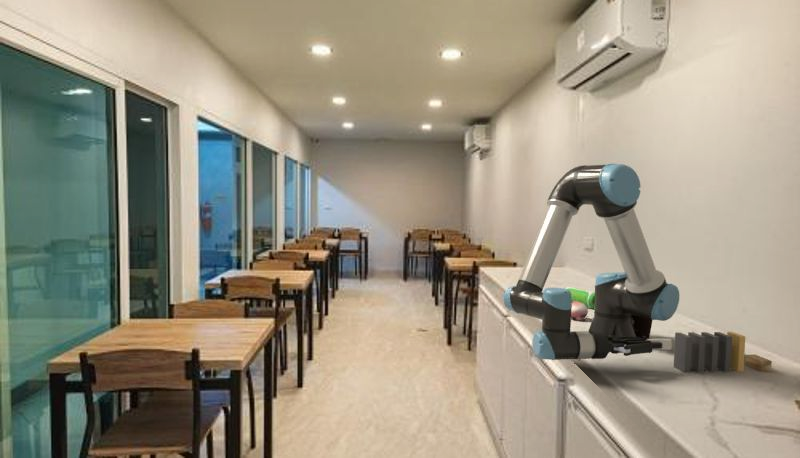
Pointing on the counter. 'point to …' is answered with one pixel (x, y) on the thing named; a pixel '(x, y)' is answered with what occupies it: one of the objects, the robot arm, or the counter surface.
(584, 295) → the speaker
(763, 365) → the block
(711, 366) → the domino
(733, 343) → the domino
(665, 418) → the counter surface
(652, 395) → the counter surface
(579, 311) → the onion
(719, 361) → the domino
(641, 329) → the coffee mug
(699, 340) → the domino
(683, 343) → the domino
